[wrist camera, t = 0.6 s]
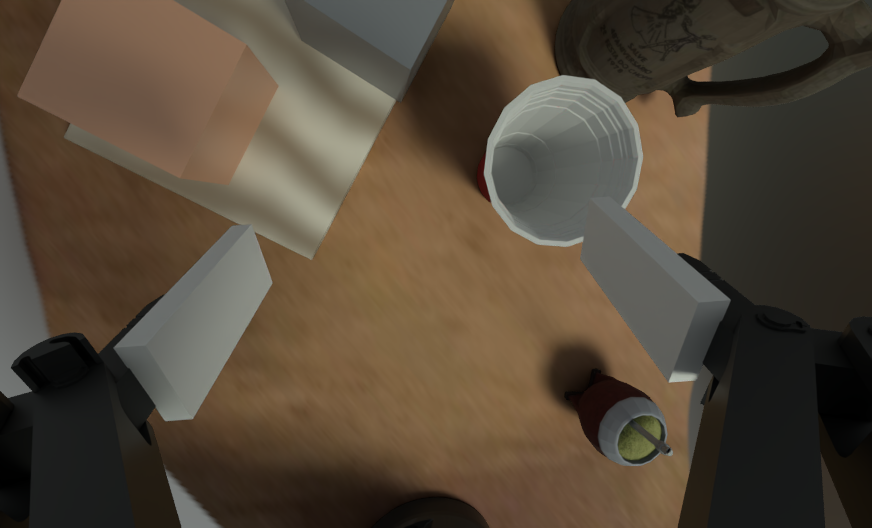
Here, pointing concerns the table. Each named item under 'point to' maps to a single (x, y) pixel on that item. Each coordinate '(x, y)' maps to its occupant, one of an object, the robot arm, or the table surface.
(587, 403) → the mate gourd
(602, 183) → the plastic cup
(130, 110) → the salmon pink cube
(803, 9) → the beer stein
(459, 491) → the table surface
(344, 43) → the gray cube
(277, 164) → the cream cloth mat
